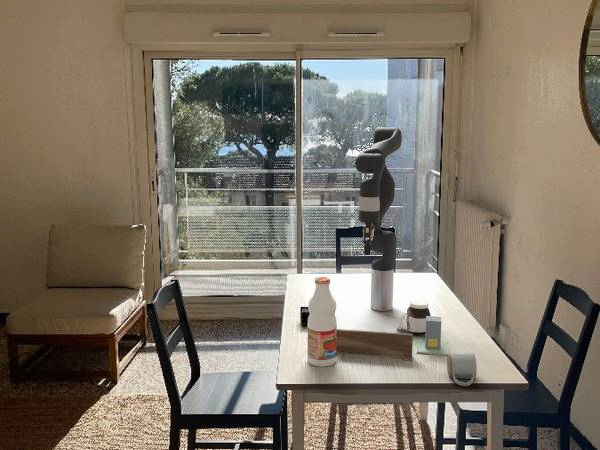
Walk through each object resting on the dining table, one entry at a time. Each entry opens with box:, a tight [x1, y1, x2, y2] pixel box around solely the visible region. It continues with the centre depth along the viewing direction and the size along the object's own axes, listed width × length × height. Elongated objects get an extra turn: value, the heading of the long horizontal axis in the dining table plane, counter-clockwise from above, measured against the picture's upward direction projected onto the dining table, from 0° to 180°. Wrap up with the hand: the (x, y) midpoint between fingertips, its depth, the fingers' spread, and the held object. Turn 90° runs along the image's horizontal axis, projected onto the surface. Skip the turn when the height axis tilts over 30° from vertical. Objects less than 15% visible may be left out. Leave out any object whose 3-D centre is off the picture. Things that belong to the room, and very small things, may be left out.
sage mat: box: [416, 338, 451, 356], centre depth 202 cm, size 12×11×1 cm
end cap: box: [299, 306, 310, 328], centre depth 225 cm, size 10×7×7 cm
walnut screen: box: [336, 328, 414, 361], centre depth 195 cm, size 5×26×8 cm, turn 79°
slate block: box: [424, 315, 442, 349], centre depth 201 cm, size 5×5×10 cm
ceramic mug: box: [446, 352, 478, 387], centre depth 176 cm, size 11×8×8 cm
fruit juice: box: [307, 276, 338, 367], centre depth 188 cm, size 9×9×28 cm
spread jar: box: [396, 299, 432, 336], centre depth 216 cm, size 12×11×12 cm
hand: (368, 252), depth 214 cm, fingers open, 8 cm apart
